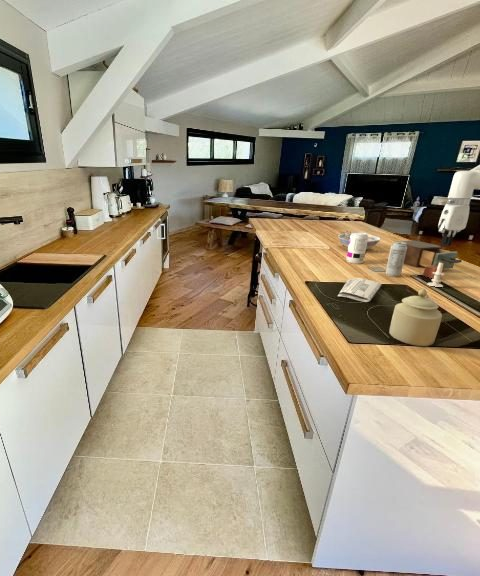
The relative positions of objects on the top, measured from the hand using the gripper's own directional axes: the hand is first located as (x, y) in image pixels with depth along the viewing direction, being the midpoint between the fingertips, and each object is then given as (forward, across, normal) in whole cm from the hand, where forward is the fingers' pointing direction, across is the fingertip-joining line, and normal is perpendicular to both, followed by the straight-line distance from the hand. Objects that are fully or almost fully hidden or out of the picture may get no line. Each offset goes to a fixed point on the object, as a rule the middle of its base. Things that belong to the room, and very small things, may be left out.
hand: (445, 245), depth 137 cm
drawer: (+13, +8, +8) cm, 17 cm away
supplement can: (+14, -20, +28) cm, 38 cm away
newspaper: (+14, -48, -7) cm, 51 cm away
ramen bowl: (+14, 0, +51) cm, 53 cm away
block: (+14, -5, -2) cm, 15 cm away
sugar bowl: (+14, -58, -40) cm, 73 cm away
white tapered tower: (+14, -14, -11) cm, 23 cm away
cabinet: (+14, +8, +20) cm, 25 cm away
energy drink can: (+14, -19, +5) cm, 24 cm away
